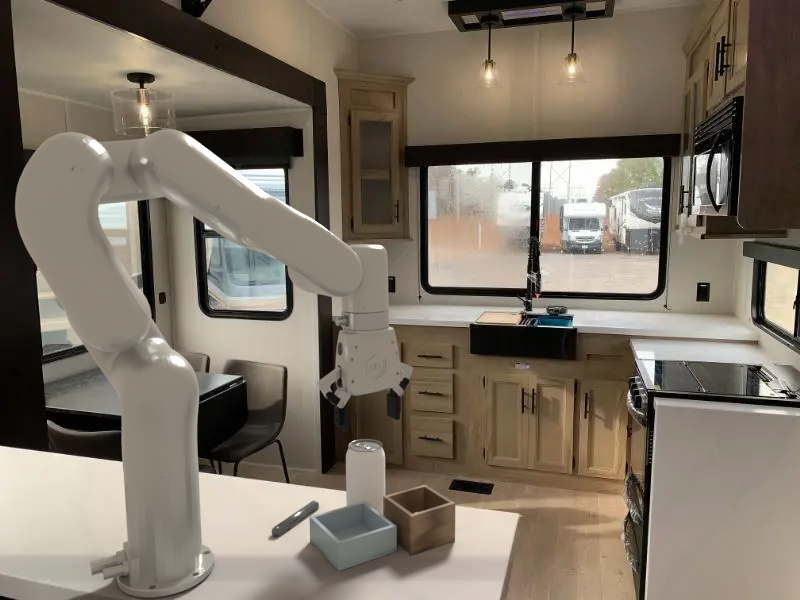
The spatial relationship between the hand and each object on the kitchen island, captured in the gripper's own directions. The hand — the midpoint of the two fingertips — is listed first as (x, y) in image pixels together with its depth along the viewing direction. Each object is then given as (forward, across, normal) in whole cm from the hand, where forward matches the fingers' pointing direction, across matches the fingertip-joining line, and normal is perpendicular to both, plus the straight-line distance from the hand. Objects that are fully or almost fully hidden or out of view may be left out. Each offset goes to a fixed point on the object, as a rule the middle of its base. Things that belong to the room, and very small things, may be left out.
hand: (368, 423), depth 100 cm
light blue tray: (+15, -8, -8) cm, 19 cm away
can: (+16, -1, 0) cm, 16 cm away
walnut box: (+16, +2, -11) cm, 19 cm away
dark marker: (+16, -12, +4) cm, 20 cm away
